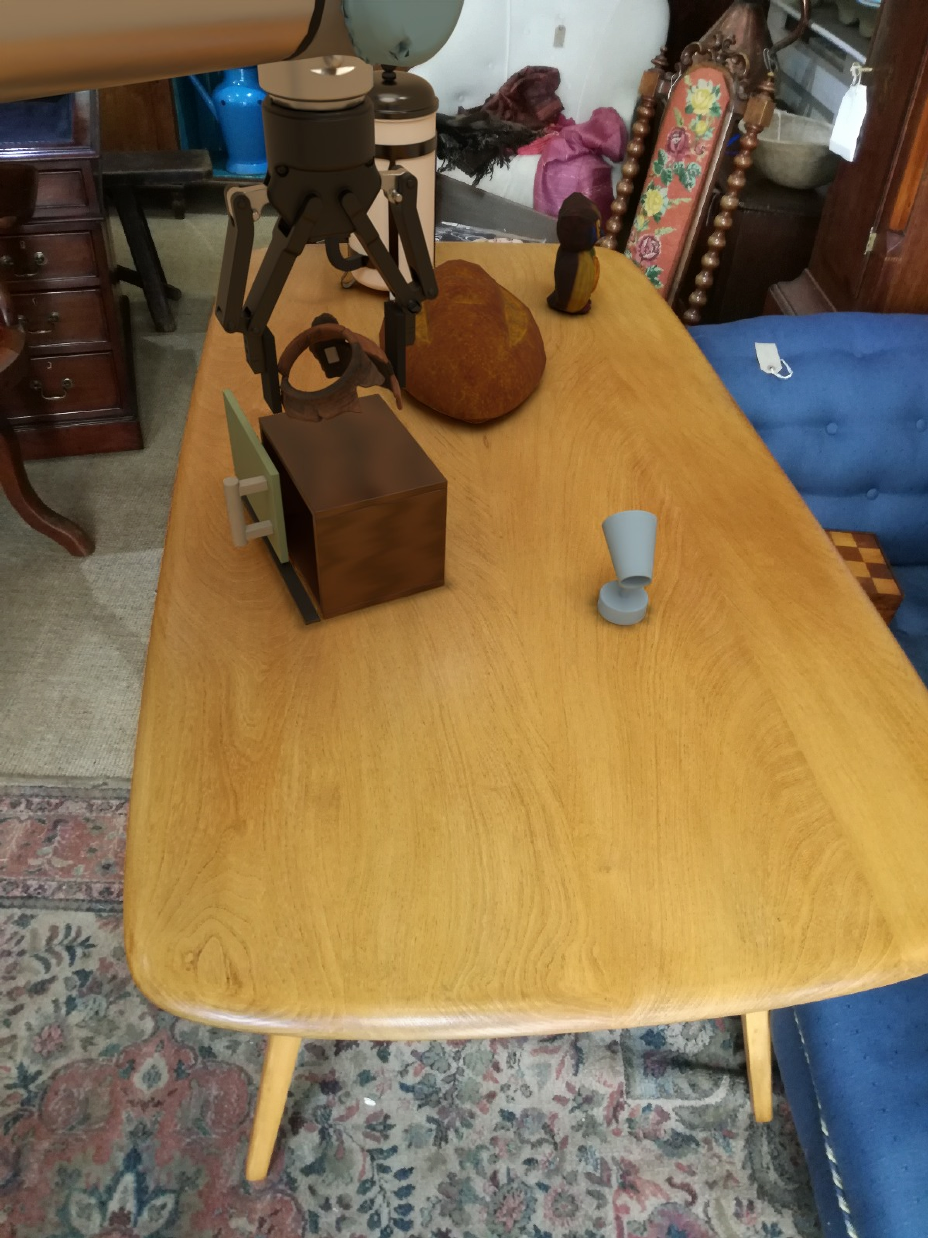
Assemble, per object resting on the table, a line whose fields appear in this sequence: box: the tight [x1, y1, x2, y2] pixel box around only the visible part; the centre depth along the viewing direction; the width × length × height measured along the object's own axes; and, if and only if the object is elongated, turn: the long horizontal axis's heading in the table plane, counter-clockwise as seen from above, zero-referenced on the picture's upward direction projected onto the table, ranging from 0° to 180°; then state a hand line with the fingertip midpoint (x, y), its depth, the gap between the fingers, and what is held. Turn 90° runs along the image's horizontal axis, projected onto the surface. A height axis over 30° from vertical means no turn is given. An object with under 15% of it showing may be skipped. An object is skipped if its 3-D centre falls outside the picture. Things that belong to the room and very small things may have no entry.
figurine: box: [546, 191, 606, 315], centre depth 129 cm, size 10×7×15 cm
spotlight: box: [596, 509, 658, 626], centre depth 84 cm, size 5×10×7 cm
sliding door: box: [222, 388, 290, 563], centre depth 89 cm, size 5×16×10 cm, turn 26°
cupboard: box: [241, 393, 449, 626], centre depth 89 cm, size 14×21×12 cm, turn 26°
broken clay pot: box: [277, 312, 404, 423], centre depth 77 cm, size 12×10×8 cm
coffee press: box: [324, 64, 440, 301], centre depth 126 cm, size 17×16×30 cm
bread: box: [378, 258, 547, 424], centre depth 115 cm, size 21×33×12 cm, turn 3°
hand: (335, 392), depth 77 cm, fingers closed on broken clay pot, 10 cm apart
